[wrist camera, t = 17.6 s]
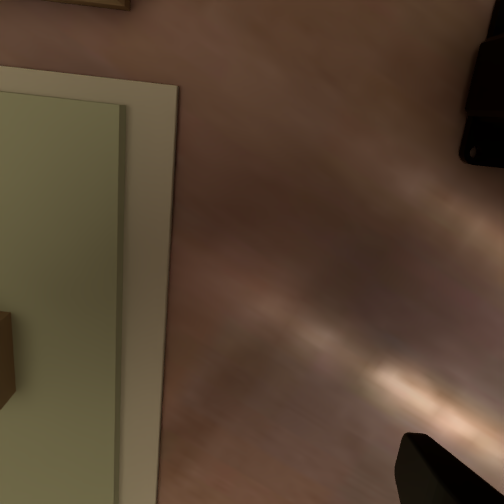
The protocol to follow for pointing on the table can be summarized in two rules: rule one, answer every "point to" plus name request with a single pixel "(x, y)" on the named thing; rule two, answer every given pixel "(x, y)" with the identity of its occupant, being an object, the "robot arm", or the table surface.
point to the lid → (60, 298)
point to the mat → (133, 254)
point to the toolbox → (99, 3)
